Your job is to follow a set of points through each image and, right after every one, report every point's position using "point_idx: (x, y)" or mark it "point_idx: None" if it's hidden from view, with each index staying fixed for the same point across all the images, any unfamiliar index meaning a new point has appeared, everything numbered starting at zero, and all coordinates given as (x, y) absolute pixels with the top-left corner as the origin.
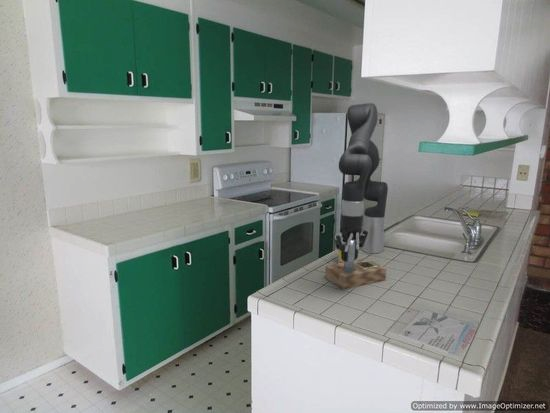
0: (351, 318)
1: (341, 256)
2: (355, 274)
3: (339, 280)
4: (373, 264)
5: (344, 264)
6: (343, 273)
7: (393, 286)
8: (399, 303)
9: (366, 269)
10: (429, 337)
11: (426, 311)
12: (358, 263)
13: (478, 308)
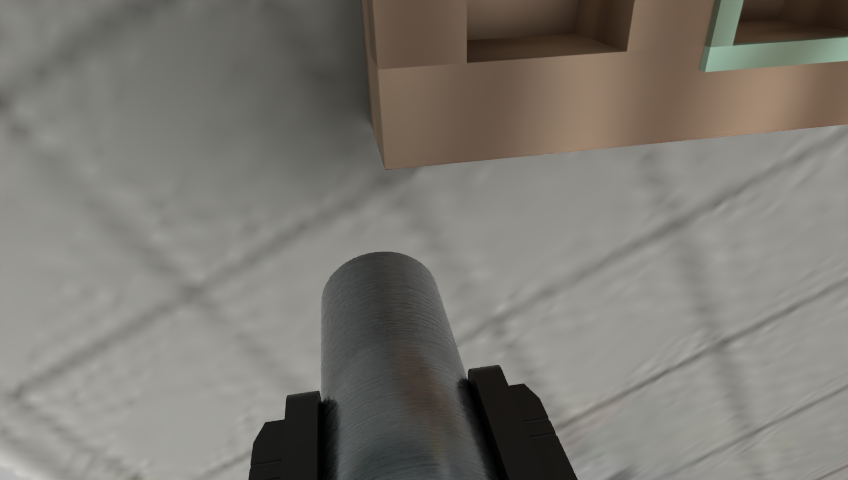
0: (206, 458)
1: (252, 473)
2: (527, 153)
3: (371, 66)
4: None
5: (321, 362)
6: (427, 85)
7: (740, 198)
8: (568, 383)
9: (725, 74)
10: None
11: (609, 459)
12: None
13: (806, 470)
